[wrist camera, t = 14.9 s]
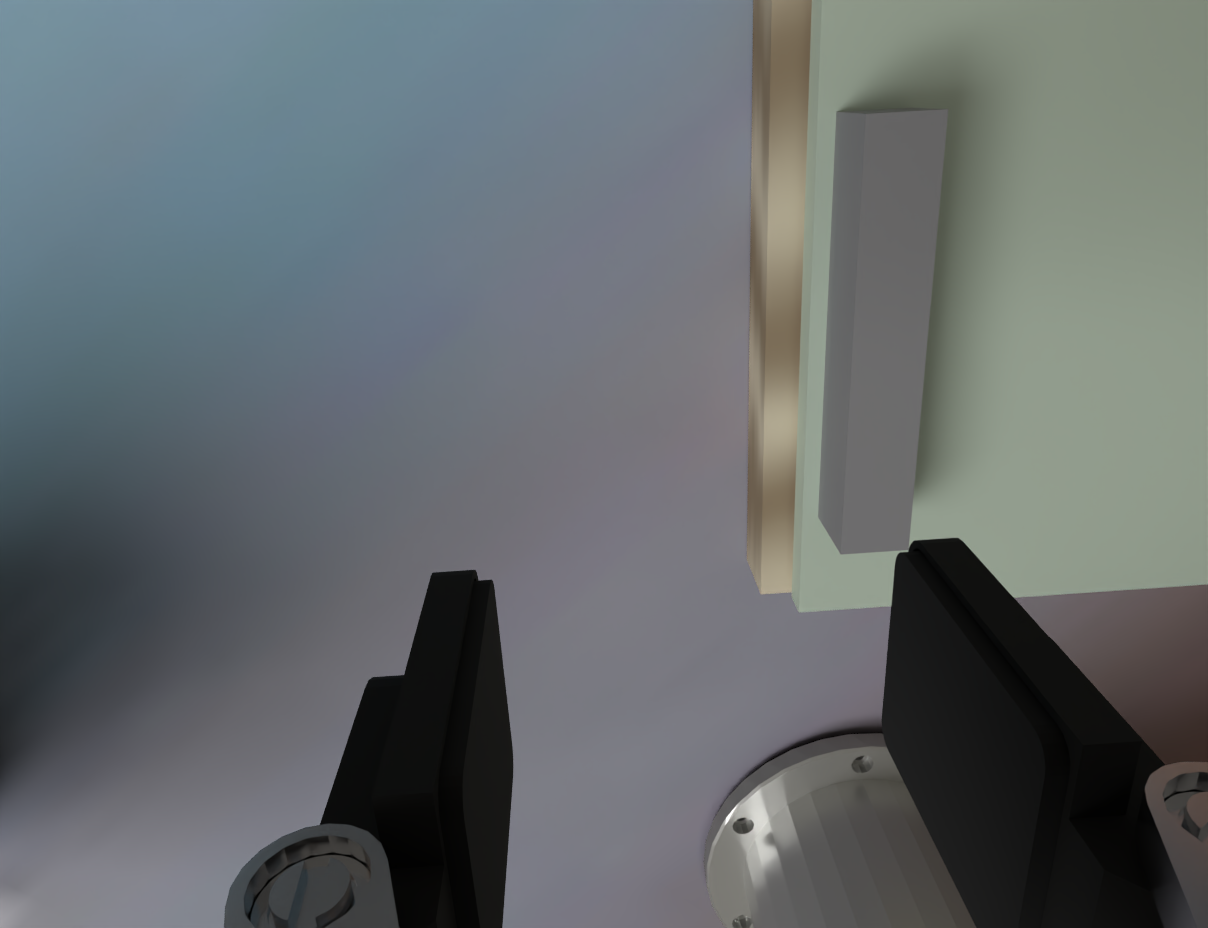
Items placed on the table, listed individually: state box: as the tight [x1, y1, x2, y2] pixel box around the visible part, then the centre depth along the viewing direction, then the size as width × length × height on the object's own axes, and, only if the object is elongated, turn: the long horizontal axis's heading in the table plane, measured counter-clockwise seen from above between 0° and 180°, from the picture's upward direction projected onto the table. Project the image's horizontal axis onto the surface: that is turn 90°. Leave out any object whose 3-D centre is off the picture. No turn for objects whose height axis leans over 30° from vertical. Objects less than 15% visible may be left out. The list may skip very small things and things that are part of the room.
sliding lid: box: [792, 0, 1208, 612], centre depth 26 cm, size 19×19×4 cm
